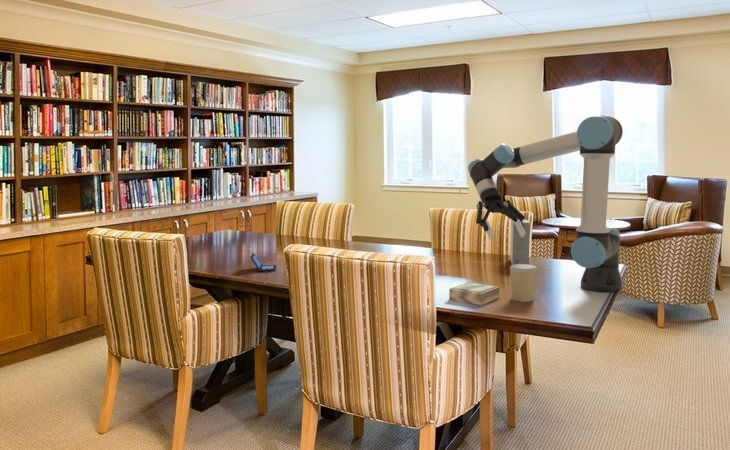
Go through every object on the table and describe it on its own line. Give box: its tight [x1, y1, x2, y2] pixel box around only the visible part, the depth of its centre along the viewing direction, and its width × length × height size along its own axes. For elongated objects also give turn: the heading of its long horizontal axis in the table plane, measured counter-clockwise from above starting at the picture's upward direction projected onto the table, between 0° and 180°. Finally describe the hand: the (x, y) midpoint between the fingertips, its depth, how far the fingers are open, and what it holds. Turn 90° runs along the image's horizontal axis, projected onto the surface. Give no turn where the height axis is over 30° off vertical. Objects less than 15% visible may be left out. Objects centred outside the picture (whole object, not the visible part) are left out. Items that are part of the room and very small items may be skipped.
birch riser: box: [448, 281, 500, 306], centre depth 215 cm, size 13×13×4 cm
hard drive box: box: [509, 218, 531, 265], centre depth 279 cm, size 16×8×20 cm, turn 170°
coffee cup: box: [509, 263, 538, 303], centre depth 212 cm, size 9×9×12 cm
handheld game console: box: [250, 252, 277, 273], centre depth 274 cm, size 12×11×7 cm
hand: (508, 236), depth 222 cm, fingers open, 13 cm apart
